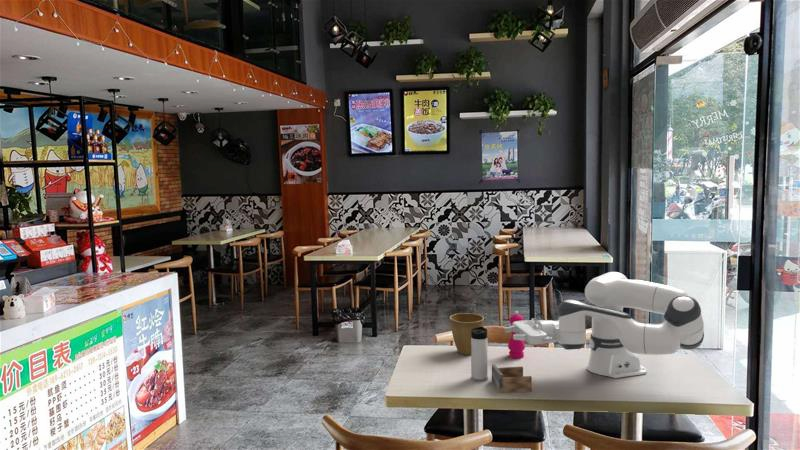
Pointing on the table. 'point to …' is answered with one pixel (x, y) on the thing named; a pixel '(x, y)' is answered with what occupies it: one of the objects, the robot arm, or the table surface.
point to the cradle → (510, 379)
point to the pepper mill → (516, 345)
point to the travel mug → (479, 354)
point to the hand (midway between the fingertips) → (509, 333)
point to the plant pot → (464, 330)
